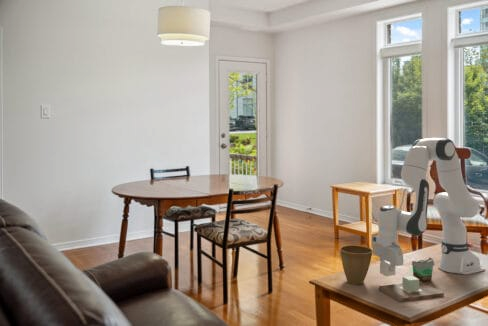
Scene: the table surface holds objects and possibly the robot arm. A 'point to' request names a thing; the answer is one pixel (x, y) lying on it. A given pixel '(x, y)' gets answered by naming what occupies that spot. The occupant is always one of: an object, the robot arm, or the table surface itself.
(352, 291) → the table surface
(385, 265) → the cream block
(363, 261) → the plant pot
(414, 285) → the sage green block
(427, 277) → the food container
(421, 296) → the board
